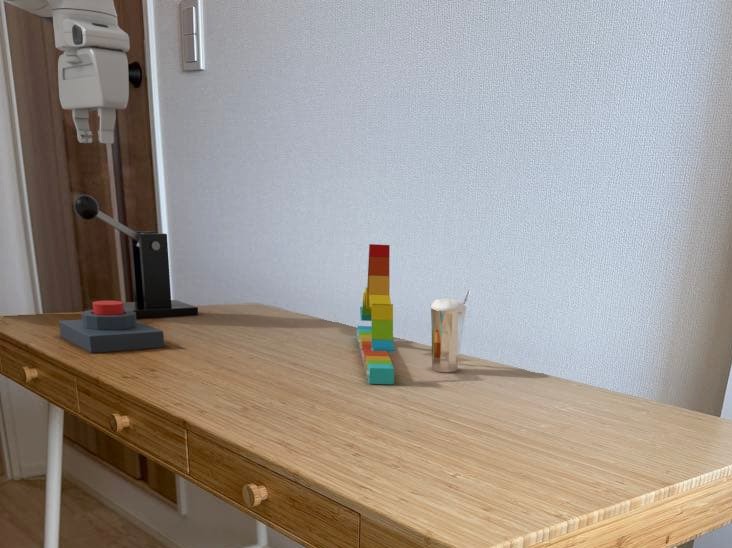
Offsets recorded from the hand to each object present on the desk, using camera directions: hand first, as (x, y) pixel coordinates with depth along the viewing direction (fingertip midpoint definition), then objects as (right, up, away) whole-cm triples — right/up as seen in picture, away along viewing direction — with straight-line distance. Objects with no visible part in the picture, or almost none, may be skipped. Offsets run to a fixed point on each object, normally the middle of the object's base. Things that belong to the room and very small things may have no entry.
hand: (95, 143), depth 126 cm
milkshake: (+53, -38, -17) cm, 67 cm away
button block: (+6, -33, -10) cm, 35 cm away
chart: (+43, -36, -12) cm, 57 cm away
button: (+6, -29, -11) cm, 32 cm away
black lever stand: (+5, -22, +14) cm, 27 cm away
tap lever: (0, -12, +6) cm, 13 cm away
